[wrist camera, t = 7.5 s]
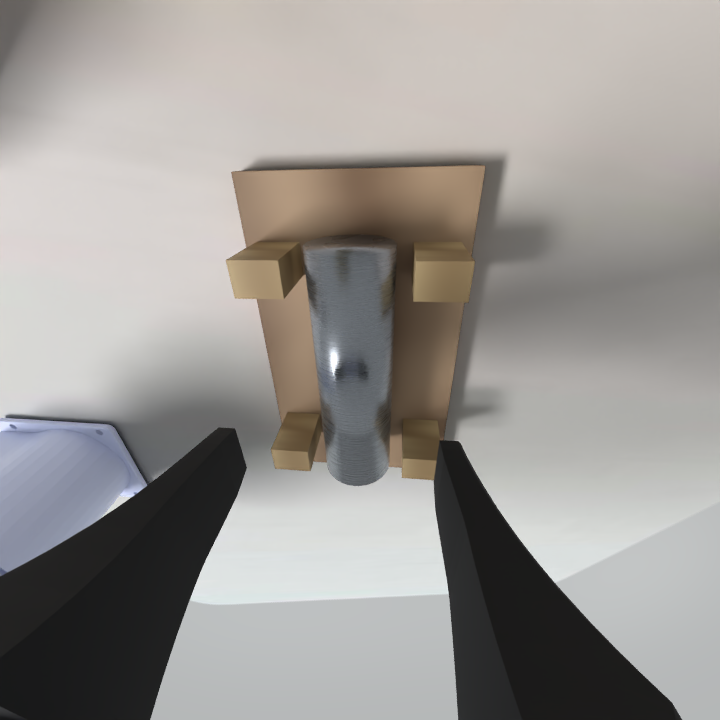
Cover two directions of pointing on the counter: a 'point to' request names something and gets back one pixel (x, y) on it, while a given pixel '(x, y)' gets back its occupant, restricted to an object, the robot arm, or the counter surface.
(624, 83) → the counter surface
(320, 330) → the tube
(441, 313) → the stand
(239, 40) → the counter surface
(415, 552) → the counter surface
